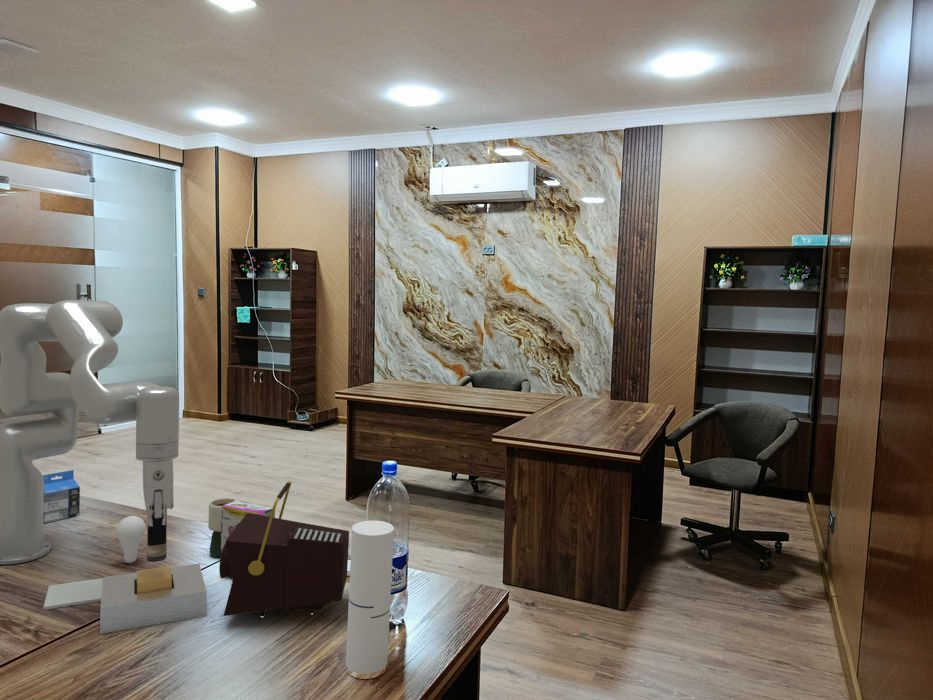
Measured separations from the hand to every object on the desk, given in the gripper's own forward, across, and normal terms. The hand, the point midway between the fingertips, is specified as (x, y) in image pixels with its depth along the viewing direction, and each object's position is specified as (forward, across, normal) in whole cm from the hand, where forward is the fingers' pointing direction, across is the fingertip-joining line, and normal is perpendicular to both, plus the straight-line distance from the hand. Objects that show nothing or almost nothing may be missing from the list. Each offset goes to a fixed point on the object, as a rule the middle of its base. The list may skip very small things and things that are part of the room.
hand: (156, 540), depth 123 cm
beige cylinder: (+4, 0, 0) cm, 4 cm away
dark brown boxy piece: (+15, -10, -24) cm, 29 cm away
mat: (+14, +12, +14) cm, 24 cm away
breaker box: (+14, 0, 0) cm, 14 cm away
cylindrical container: (+15, -36, -32) cm, 50 cm away
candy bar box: (+14, +8, -19) cm, 25 cm away
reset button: (+10, 0, 0) cm, 10 cm away
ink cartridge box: (+13, +64, +21) cm, 68 cm away
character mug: (+14, +24, -16) cm, 32 cm away
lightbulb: (+14, +26, +4) cm, 29 cm away
